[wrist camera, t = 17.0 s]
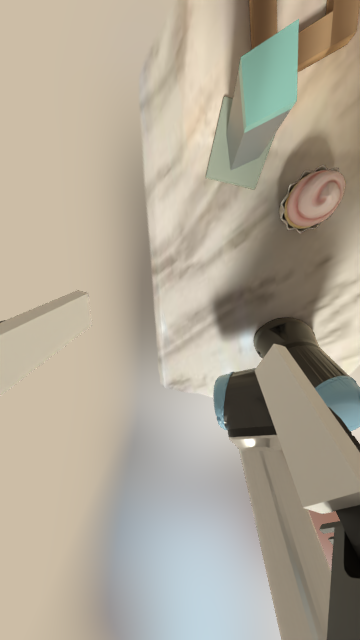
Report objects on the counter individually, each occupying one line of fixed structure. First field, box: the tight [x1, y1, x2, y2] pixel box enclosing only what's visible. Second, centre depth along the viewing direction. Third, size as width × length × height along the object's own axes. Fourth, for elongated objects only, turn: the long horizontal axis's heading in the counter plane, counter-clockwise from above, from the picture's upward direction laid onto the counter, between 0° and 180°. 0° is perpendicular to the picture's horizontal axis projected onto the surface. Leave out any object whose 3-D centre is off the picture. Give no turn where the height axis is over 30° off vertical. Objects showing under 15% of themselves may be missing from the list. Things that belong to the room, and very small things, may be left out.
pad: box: [206, 97, 275, 190], centre depth 27 cm, size 10×10×1 cm
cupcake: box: [279, 165, 345, 233], centre depth 25 cm, size 9×9×10 cm
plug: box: [226, 19, 299, 170], centre depth 21 cm, size 5×5×13 cm
